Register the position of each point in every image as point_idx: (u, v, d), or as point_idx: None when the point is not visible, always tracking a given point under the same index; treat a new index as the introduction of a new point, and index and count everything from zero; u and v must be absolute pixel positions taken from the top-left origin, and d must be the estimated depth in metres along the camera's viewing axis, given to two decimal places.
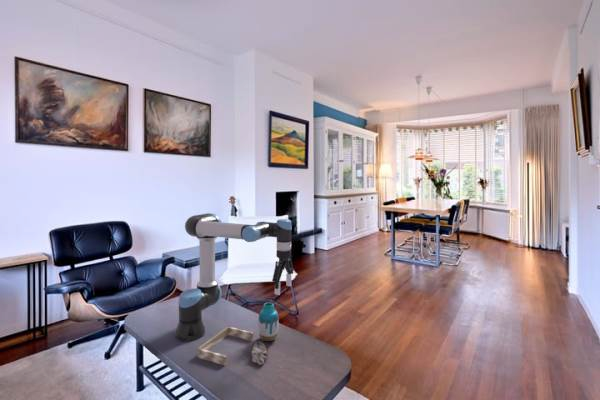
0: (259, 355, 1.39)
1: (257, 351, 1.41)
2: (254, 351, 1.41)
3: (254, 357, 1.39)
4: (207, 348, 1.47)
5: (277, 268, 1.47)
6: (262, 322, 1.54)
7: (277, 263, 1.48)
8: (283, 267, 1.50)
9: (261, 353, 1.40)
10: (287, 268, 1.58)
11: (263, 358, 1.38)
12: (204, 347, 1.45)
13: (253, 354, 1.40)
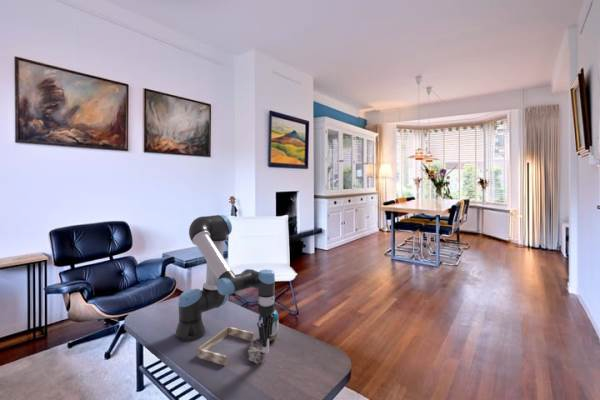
0: (256, 354, 1.40)
1: (254, 350, 1.42)
2: (251, 350, 1.42)
3: (251, 356, 1.39)
4: (207, 348, 1.47)
5: (261, 329, 1.36)
6: None
7: (259, 325, 1.35)
8: (267, 325, 1.39)
9: (258, 352, 1.41)
10: None
11: (260, 357, 1.39)
12: (204, 347, 1.45)
13: (250, 353, 1.40)
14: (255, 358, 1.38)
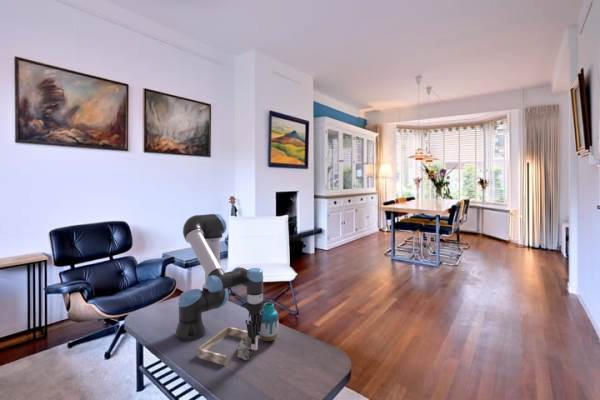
0: (244, 351, 1.42)
1: (243, 347, 1.44)
2: (240, 347, 1.44)
3: (239, 353, 1.42)
4: (207, 348, 1.47)
5: (249, 326, 1.39)
6: (262, 322, 1.54)
7: (247, 323, 1.38)
8: (255, 322, 1.41)
9: (246, 349, 1.43)
10: None
11: (248, 354, 1.41)
12: (204, 347, 1.45)
13: (239, 350, 1.43)
14: (243, 355, 1.40)
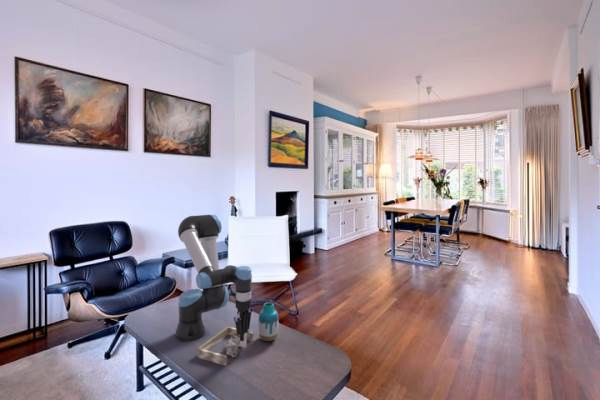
0: (233, 348, 1.44)
1: (231, 344, 1.46)
2: (228, 344, 1.46)
3: (228, 350, 1.44)
4: (207, 348, 1.47)
5: (237, 324, 1.41)
6: (262, 322, 1.54)
7: (236, 320, 1.40)
8: (244, 319, 1.43)
9: (235, 346, 1.45)
10: None
11: (237, 351, 1.44)
12: (204, 347, 1.45)
13: (227, 347, 1.45)
14: (232, 352, 1.42)
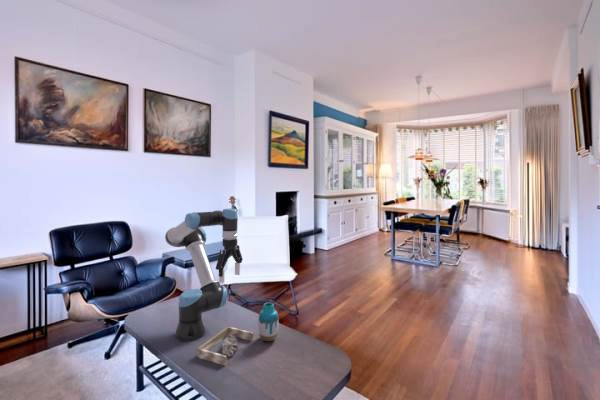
0: (229, 347, 1.45)
1: (227, 343, 1.47)
2: (224, 343, 1.47)
3: (224, 349, 1.45)
4: (207, 348, 1.47)
5: (221, 256, 1.49)
6: (262, 322, 1.54)
7: (221, 251, 1.50)
8: (228, 255, 1.52)
9: (231, 345, 1.46)
10: (235, 257, 1.61)
11: (233, 350, 1.44)
12: (204, 347, 1.45)
13: (223, 346, 1.46)
14: (228, 351, 1.43)
